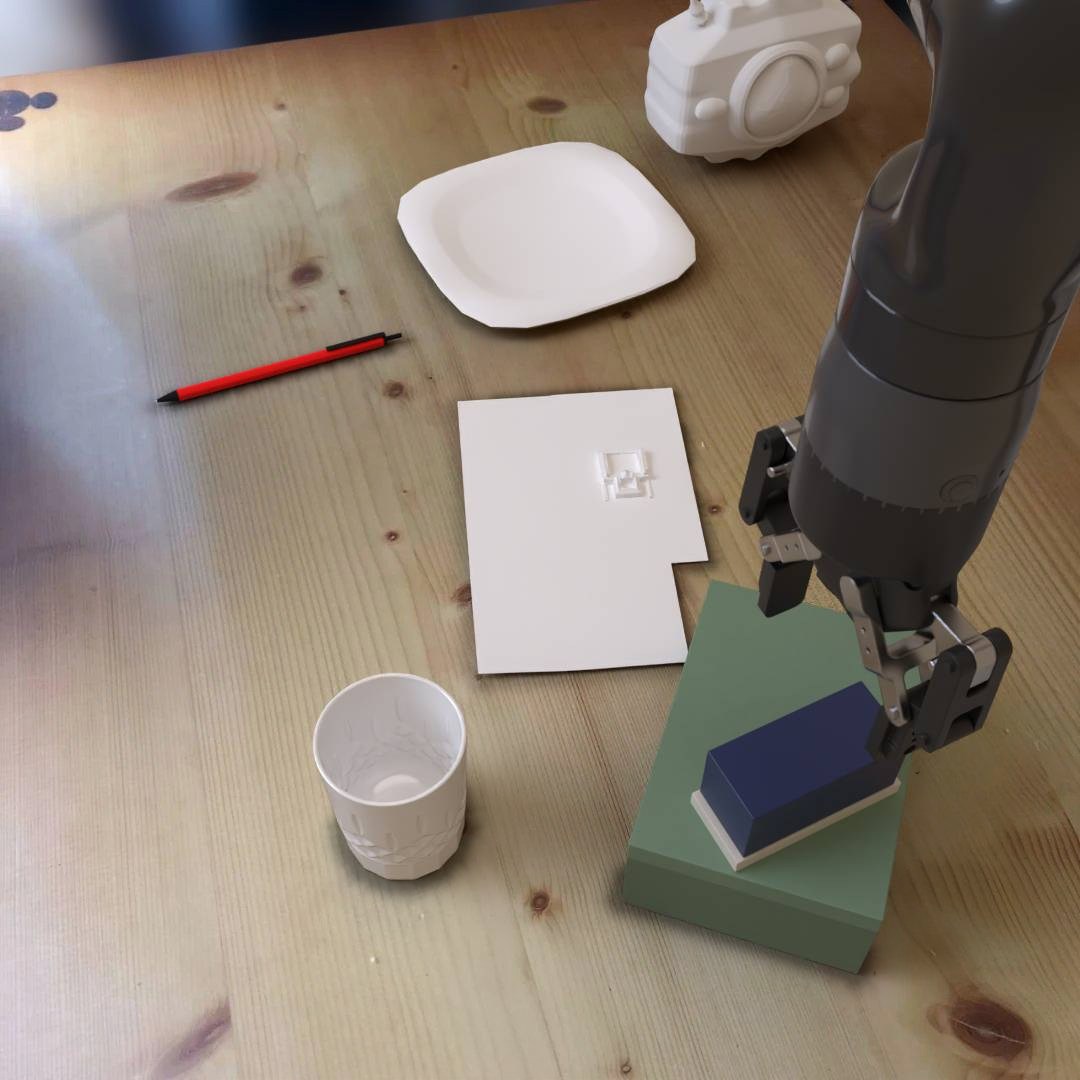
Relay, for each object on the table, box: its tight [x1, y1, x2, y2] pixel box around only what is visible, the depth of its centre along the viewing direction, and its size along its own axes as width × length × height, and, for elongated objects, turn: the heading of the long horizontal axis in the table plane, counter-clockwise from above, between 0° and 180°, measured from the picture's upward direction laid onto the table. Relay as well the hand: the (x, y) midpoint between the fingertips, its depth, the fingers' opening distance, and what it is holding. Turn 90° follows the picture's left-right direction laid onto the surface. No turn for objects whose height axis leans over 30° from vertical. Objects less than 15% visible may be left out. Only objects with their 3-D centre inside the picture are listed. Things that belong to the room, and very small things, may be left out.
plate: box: [396, 141, 697, 330], centre depth 108 cm, size 22×22×2 cm
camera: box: [643, 0, 862, 164], centre depth 110 cm, size 11×18×16 cm, turn 114°
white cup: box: [312, 672, 468, 881], centre depth 71 cm, size 8×8×10 cm
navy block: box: [690, 681, 906, 872], centre depth 66 cm, size 10×4×5 cm, turn 117°
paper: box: [456, 387, 709, 675], centre depth 88 cm, size 25×17×1 cm
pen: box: [154, 331, 403, 403], centre depth 98 cm, size 1×19×1 cm, turn 112°
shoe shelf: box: [621, 578, 921, 975], centre depth 73 cm, size 13×18×7 cm
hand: (831, 674), depth 59 cm, fingers open, 8 cm apart
